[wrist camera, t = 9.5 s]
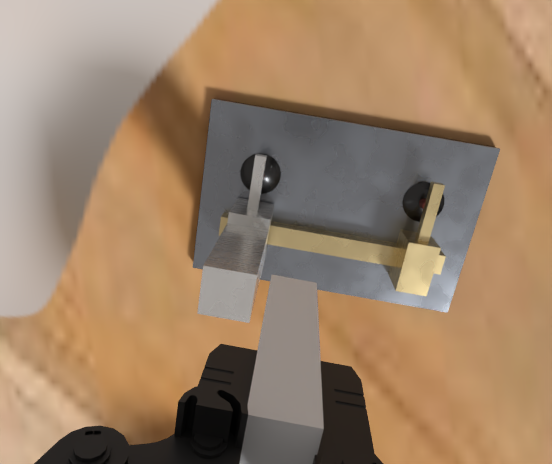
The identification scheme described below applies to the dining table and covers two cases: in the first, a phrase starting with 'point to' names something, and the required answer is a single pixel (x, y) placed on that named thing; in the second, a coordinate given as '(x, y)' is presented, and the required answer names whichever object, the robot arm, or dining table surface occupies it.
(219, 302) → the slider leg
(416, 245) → the gauge rail
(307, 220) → the bolt plate
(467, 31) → the dining table surface
